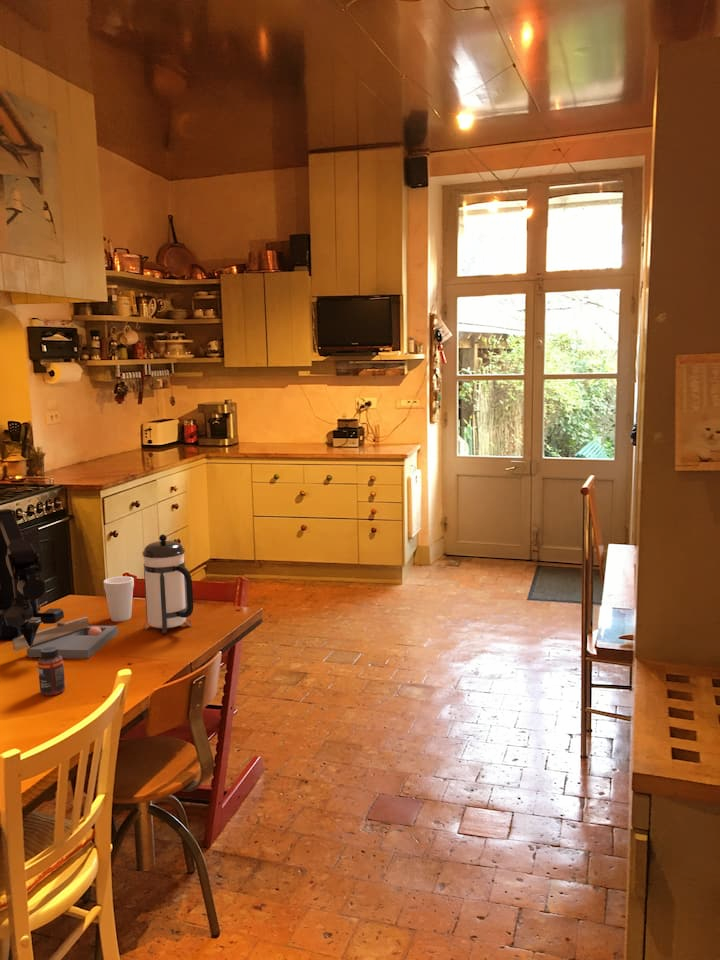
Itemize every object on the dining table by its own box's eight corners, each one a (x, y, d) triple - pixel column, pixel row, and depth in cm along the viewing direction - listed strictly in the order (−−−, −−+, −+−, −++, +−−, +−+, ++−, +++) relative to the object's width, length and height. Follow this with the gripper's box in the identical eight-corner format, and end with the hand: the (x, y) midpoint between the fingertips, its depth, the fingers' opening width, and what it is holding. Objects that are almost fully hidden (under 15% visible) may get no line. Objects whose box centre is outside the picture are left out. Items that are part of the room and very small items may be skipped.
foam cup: (126, 623, 247) (124, 584, 246) (100, 622, 249) (98, 583, 247) (140, 614, 257) (138, 576, 255) (115, 613, 258) (113, 575, 257)
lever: (13, 649, 217) (11, 637, 216) (85, 625, 236) (84, 614, 236) (17, 650, 216) (16, 638, 215) (89, 626, 235) (88, 615, 235)
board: (27, 657, 218) (26, 649, 218) (61, 633, 239) (61, 625, 239) (88, 658, 217) (87, 650, 217) (117, 633, 238) (117, 625, 237)
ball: (83, 638, 232) (95, 644, 232) (86, 632, 229) (98, 638, 230) (90, 628, 235) (102, 634, 235) (93, 621, 232) (105, 628, 233)
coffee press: (137, 637, 234) (131, 540, 230) (149, 620, 250) (144, 530, 246) (194, 635, 235) (189, 539, 231) (203, 619, 250) (198, 528, 246)
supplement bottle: (68, 686, 197) (65, 644, 196) (60, 696, 191) (57, 652, 190) (45, 687, 197) (42, 645, 195) (36, 697, 191) (32, 653, 190)
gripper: (-24, 601, 208) (-17, 656, 210) (43, 599, 207) (48, 655, 209) (-1, 590, 219) (4, 642, 221) (62, 588, 218) (67, 641, 220)
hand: (30, 645), depth 217 cm, fingers closed
